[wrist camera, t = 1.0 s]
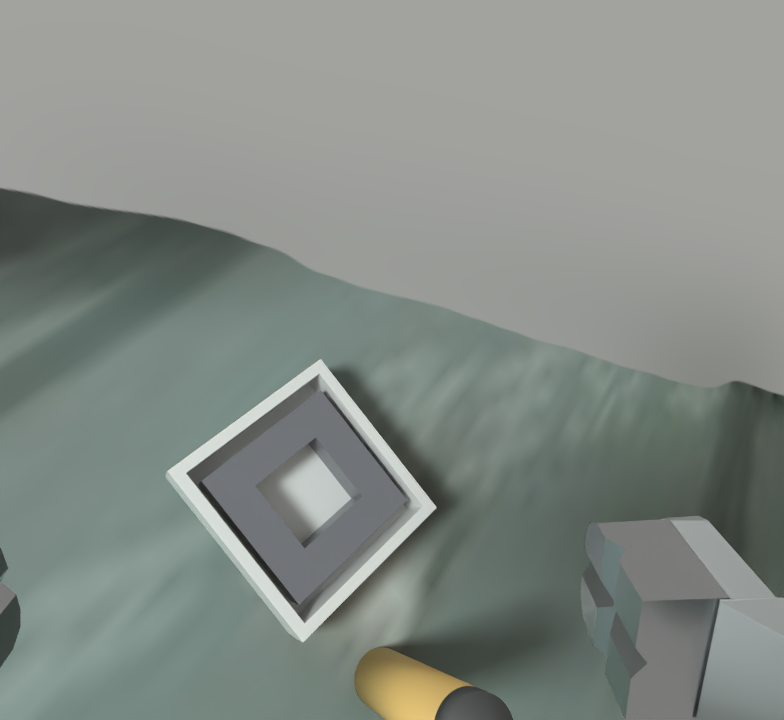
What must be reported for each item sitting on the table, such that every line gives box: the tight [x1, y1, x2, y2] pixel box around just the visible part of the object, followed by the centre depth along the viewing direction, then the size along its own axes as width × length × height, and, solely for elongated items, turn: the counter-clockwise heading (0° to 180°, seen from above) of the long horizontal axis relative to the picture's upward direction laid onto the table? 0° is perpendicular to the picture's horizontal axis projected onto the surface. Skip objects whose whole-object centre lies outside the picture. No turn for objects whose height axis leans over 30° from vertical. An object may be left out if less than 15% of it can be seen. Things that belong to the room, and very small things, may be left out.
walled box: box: [166, 359, 437, 642], centre depth 42 cm, size 14×13×4 cm
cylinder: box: [355, 647, 513, 720], centre depth 36 cm, size 4×4×14 cm
